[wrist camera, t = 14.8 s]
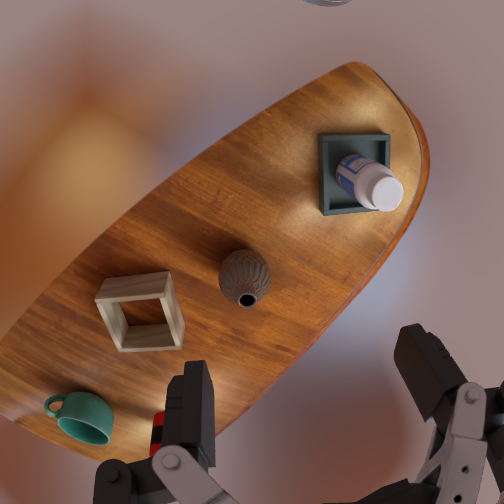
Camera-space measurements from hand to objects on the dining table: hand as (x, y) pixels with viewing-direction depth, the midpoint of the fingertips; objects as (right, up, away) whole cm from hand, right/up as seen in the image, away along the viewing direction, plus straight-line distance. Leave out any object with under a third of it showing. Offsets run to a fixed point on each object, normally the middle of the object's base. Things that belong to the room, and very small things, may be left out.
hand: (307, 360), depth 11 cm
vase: (-3, +3, +33) cm, 33 cm away
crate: (-19, -4, +34) cm, 39 cm away
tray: (+11, +15, +27) cm, 33 cm away
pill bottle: (+11, +15, +27) cm, 33 cm away
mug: (-41, -29, +46) cm, 69 cm away
